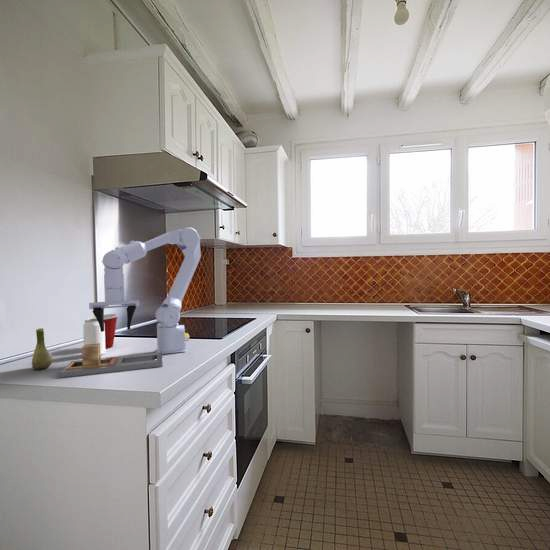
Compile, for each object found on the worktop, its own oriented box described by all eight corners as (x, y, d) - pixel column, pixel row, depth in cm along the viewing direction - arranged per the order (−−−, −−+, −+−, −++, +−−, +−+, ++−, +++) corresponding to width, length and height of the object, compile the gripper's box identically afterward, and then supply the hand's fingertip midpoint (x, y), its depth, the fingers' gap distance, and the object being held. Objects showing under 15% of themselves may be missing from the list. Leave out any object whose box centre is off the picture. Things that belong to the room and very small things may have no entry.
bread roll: (174, 344, 130) (174, 333, 129) (164, 340, 136) (164, 331, 136) (193, 340, 135) (193, 330, 135) (183, 337, 142) (183, 328, 142)
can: (96, 357, 111) (95, 321, 111) (79, 356, 112) (78, 321, 112) (109, 352, 117) (108, 318, 117) (93, 352, 119) (92, 318, 118)
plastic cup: (84, 347, 126) (83, 315, 126) (115, 342, 133) (113, 312, 133) (91, 352, 118) (89, 318, 118) (123, 347, 125) (122, 315, 125)
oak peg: (100, 366, 100) (100, 343, 100) (98, 370, 96) (97, 346, 96) (85, 368, 99) (85, 344, 99) (82, 371, 95) (81, 347, 95)
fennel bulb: (37, 366, 102) (36, 327, 102) (55, 364, 103) (54, 326, 103) (28, 371, 96) (26, 330, 96) (47, 370, 97) (45, 329, 97)
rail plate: (162, 356, 110) (162, 351, 109) (162, 366, 98) (162, 360, 98) (72, 365, 101) (71, 360, 101) (60, 377, 90) (60, 371, 90)
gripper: (86, 289, 101) (87, 334, 102) (137, 287, 106) (139, 330, 106) (91, 288, 108) (92, 330, 108) (139, 286, 113) (140, 326, 113)
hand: (115, 330), depth 108 cm, fingers open, 7 cm apart
